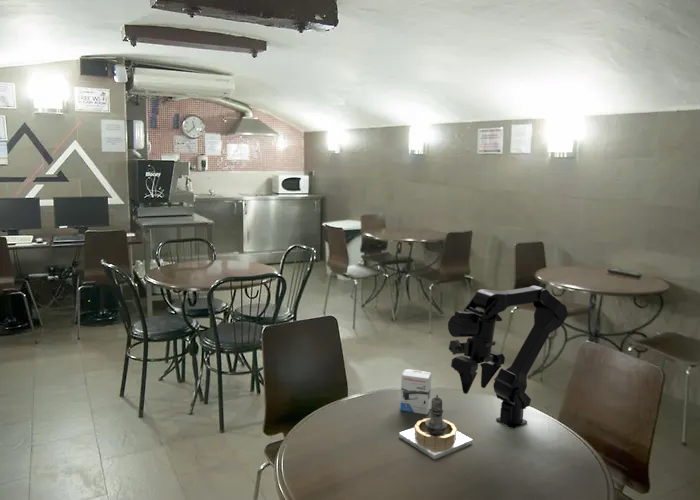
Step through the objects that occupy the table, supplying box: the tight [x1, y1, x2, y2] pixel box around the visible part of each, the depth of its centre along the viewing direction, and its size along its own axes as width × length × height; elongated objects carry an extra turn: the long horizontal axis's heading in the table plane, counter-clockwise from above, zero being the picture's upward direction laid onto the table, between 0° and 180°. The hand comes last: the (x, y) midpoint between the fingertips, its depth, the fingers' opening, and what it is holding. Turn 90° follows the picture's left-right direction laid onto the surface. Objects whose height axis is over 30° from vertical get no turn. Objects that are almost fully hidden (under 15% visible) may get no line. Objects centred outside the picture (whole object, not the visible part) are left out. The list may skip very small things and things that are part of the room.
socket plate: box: [398, 417, 473, 460], centre depth 150 cm, size 14×14×4 cm
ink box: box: [399, 368, 432, 415], centre depth 168 cm, size 8×5×12 cm, turn 72°
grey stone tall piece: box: [425, 394, 447, 436], centre depth 149 cm, size 6×6×12 cm
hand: (474, 390), depth 153 cm, fingers open, 9 cm apart
